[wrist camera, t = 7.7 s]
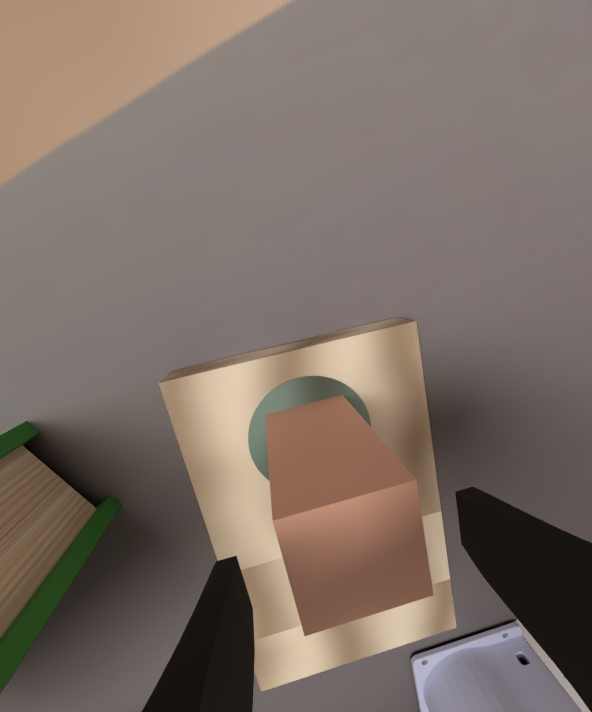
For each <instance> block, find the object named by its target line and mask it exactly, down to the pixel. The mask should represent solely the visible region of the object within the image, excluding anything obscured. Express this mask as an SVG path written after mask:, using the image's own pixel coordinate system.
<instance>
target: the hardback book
mask: <svg viewBox="0 0 592 712" xmlns="http://www.w3.org/2000/svg"><path fill="white" fill-rule="evenodd" d="M38 433H39V432H38V431H37V430H36V429H35V428H34V427H32V426H31V425H30V424H29V423H28V422H27V421H26V422H24V423H22V424H20V425H19V426H17V427H15V428H13V429H11V430H9V431H8V432H6V433H4V434H2V435H0V694H1V692H2V690H3V689H4V687H5V686H6V684H7V683H8V681H9V679H10V678H11V676H12V675H13V673H14V672H15V670H16V669H17V667H18V665H19V664H20V662H21V661H22V659H23V658H24V656H25V655H26V653H27V651H28V650H29V648H30V647H31V645H32V644H33V642H34V641H35V639H36V637H37V636H38V634H39V633H40V631H41V630H42V628H43V627H44V625H45V623H46V622H47V620H48V619H49V617H50V616H51V614H52V612H53V611H54V609H55V608H56V606H57V605H58V603H59V602H60V600H61V598H62V597H63V595H64V594H65V592H66V591H67V589H68V588H69V586H70V584H71V583H72V581H73V580H74V578H75V577H76V575H77V574H78V572H79V570H80V569H81V567H82V566H83V564H84V563H85V561H86V560H87V558H88V556H89V555H90V553H91V552H92V550H93V549H94V547H95V545H96V544H97V542H98V541H99V539H100V538H101V536H102V535H103V533H104V531H105V530H106V528H107V527H108V525H109V524H110V522H111V521H112V519H113V517H114V516H115V514H116V513H117V511H118V510H119V508H120V507H121V504H120V503H119V502H118V501H117V500H116V499H114V498H113V497H112V496H111V495H110V496H109V497H108V498H106V499H105V500H104V501H103V502H101V503H100V504H99V505H98V506H96V507H94V506H93V505H92V504H91V503H89V502H88V501H87V500H86V499H85V498H84V497H82V496H81V495H80V494H79V493H78V492H77V491H75V490H74V489H73V488H72V487H71V486H70V485H68V484H67V483H66V482H65V481H64V480H62V479H61V478H60V477H59V476H58V475H57V474H55V473H54V472H53V471H52V470H51V469H50V468H48V467H47V466H46V465H45V464H44V463H43V462H41V461H40V460H39V459H38V458H37V457H35V456H34V455H33V454H32V453H31V452H30V451H28V450H27V449H26V448H25V447H24V446H23V445H24V444H26V443H27V442H28V441H29V440H31V439H32V438H33V437H34V436H36V435H37V434H38Z"/></svg>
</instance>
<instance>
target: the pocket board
mask: <svg viewBox="0 0 592 712" xmlns="http://www.w3.org/2000/svg"><path fill="white" fill-rule="evenodd" d="M159 386H160V389H161V392H162V395H163V398H164V401H165V404H166V407H167V410H168V413H169V416H170V419H171V422H172V425H173V428H174V431H175V434H176V437H177V440H178V443H179V446H180V449H181V452H182V455H183V458H184V461H185V464H186V467H187V470H188V473H189V476H190V479H191V482H192V485H193V488H194V491H195V494H196V497H197V500H198V503H199V506H200V509H201V512H202V515H203V518H204V521H205V524H206V527H207V530H208V533H209V536H210V539H211V542H212V545H213V548H214V551H215V554H216V557H217V560H218V561H219V560H223V559H226V558H229V557H233V556H237V559H238V562H239V566H240V569H241V572H242V575H243V578H244V581H245V585H246V588H247V591H248V594H249V597H250V600H251V604H252V607H253V621H254V644H255V658H254V671H255V674H256V677H257V680H258V683H259V686H260V689H261V692H262V691H265V690H268V689H271V688H274V687H277V686H280V685H283V684H286V683H289V682H292V681H295V680H298V679H301V678H304V677H307V676H310V675H313V674H317V673H320V672H323V671H326V670H329V669H332V668H335V667H338V666H341V665H344V664H347V663H350V662H353V661H356V660H359V659H362V658H365V657H368V656H371V655H374V654H377V653H381V652H384V651H387V650H390V649H393V648H396V647H399V646H402V645H405V644H408V643H411V642H414V641H417V640H420V639H423V638H426V637H429V636H432V635H435V634H438V633H441V632H444V631H448V630H451V629H454V628H456V620H455V613H454V605H453V597H452V590H451V582H450V575H449V567H448V559H447V552H446V544H445V536H444V529H443V521H442V514H441V506H440V498H439V491H438V483H437V476H436V468H435V460H434V453H433V445H432V437H431V430H430V422H429V415H428V407H427V399H426V392H425V384H424V377H423V369H422V361H421V354H420V346H419V338H418V331H417V323H416V321H413V320H407V319H401V318H392V319H388V320H384V321H380V322H376V323H371V324H367V325H363V326H359V327H355V328H351V329H346V330H342V331H338V332H334V333H330V334H325V335H321V336H317V337H313V338H309V339H304V340H300V341H296V342H292V343H288V344H284V345H279V346H275V347H271V348H267V349H263V350H258V351H254V352H250V353H246V354H242V355H237V356H233V357H229V358H225V359H221V360H217V361H212V362H208V363H204V364H200V365H196V366H191V367H187V368H183V369H179V370H175V371H171V372H170V373H169V374H168V375H167V376H166V377H165V378H164V379H162V380H161V381H160V382H159ZM340 395H343V396H344V397H345V398H346V399H347V400H348V401H349V403H350V404H351V405H352V406H353V407H354V408H355V409H356V411H357V412H358V413H359V414H360V415H361V416H362V418H363V419H364V420H365V421H366V422H367V423H368V425H369V426H370V427H371V428H372V429H373V430H374V431H375V433H376V434H377V435H378V436H379V437H380V438H381V440H382V441H383V442H384V443H385V444H386V445H387V446H388V448H389V449H390V450H391V451H392V452H393V453H394V455H395V456H396V457H397V458H398V459H399V460H400V462H401V463H402V464H403V465H404V466H405V467H406V468H407V470H408V471H409V472H410V473H411V474H412V475H413V477H414V478H415V479H416V481H417V487H418V494H419V501H420V507H421V514H422V521H423V528H424V534H425V541H426V548H427V554H428V561H429V568H430V574H431V581H432V588H433V594H434V595H433V596H430V597H427V598H424V599H421V600H417V601H414V602H411V603H408V604H405V605H402V606H399V607H395V608H392V609H389V610H386V611H383V612H380V613H377V614H373V615H370V616H367V617H364V618H361V619H358V620H355V621H351V622H348V623H345V624H342V625H339V626H336V627H333V628H329V629H326V630H323V631H320V632H317V633H314V634H311V635H308V636H304V633H303V629H302V625H301V622H300V618H299V615H298V611H297V607H296V604H295V600H294V597H293V593H292V589H291V586H290V582H289V579H288V575H287V571H286V568H285V564H284V561H283V557H282V553H281V550H280V546H279V542H278V539H277V535H276V532H275V528H274V524H273V520H272V507H271V493H270V479H269V465H268V451H267V437H266V423H265V415H266V414H270V413H274V412H278V411H282V410H286V409H290V408H293V407H297V406H301V405H305V404H309V403H313V402H317V401H321V400H325V399H328V398H332V397H336V396H340Z"/></svg>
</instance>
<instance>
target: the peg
mask: <svg viewBox="0 0 592 712" xmlns="http://www.w3.org/2000/svg"><path fill="white" fill-rule="evenodd" d="M265 423H266V437H267V451H268V465H269V479H270V493H271V507H272V520H273V524H274V528H275V532H276V535H277V539H278V542H279V546H280V550H281V553H282V557H283V561H284V564H285V568H286V571H287V575H288V579H289V582H290V586H291V589H292V593H293V597H294V600H295V604H296V607H297V611H298V615H299V618H300V622H301V625H302V629H303V633H304V636H308V635H311V634H314V633H317V632H320V631H323V630H326V629H329V628H333V627H336V626H339V625H342V624H345V623H348V622H351V621H355V620H358V619H361V618H364V617H367V616H370V615H373V614H377V613H380V612H383V611H386V610H389V609H392V608H395V607H399V606H402V605H405V604H408V603H411V602H414V601H417V600H421V599H424V598H427V597H430V596H433V595H434V594H433V588H432V581H431V574H430V568H429V561H428V554H427V548H426V541H425V534H424V528H423V521H422V514H421V507H420V501H419V494H418V487H417V481H416V479H415V478H414V477H413V475H412V474H411V473H410V472H409V471H408V470H407V468H406V467H405V466H404V465H403V464H402V463H401V462H400V460H399V459H398V458H397V457H396V456H395V455H394V453H393V452H392V451H391V450H390V449H389V448H388V446H387V445H386V444H385V443H384V442H383V441H382V440H381V438H380V437H379V436H378V435H377V434H376V433H375V431H374V430H373V429H372V428H371V427H370V426H369V425H368V423H367V422H366V421H365V420H364V419H363V418H362V416H361V415H360V414H359V413H358V412H357V411H356V409H355V408H354V407H353V406H352V405H351V404H350V403H349V401H348V400H347V399H346V398H345V397H344V396H343V395H340V396H336V397H332V398H328V399H325V400H321V401H317V402H313V403H309V404H305V405H301V406H297V407H293V408H290V409H286V410H282V411H278V412H274V413H270V414H266V415H265Z"/></svg>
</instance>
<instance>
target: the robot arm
mask: <svg viewBox="0 0 592 712" xmlns="http://www.w3.org/2000/svg"><path fill="white" fill-rule="evenodd" d="M456 500H457V509H458V517H459V526H460V534H461V543H462V545H463V547H464V548H465V550H466V551H467V553H468V554H469V556H470V558H471V559H472V561H473V562H474V564H475V565H476V566H477V568H478V569H479V571H480V572H481V574H482V575H483V577H484V578H485V579H486V581H487V582H488V583H489V584H490V586H491V587H492V588H493V589H494V590H495V592H496V593H497V594H498V595H499V597H500V598H501V599H502V600H503V602H504V603H505V604H506V605H507V606H508V608H509V609H510V610H511V611H512V612H513V614H514V615H515V616H516V617H517V618H518V620H519V621H520V622H521V623H522V625H523V626H524V627H525V628H526V629H527V630H528V632H529V633H530V634H531V635H532V637H533V638H534V639H535V640H536V641H537V643H538V644H539V645H540V646H541V647H542V649H543V650H544V651H545V652H546V653H547V655H548V656H549V657H550V658H551V660H552V661H553V662H554V663H555V664H556V666H557V667H558V668H559V670H560V671H561V672H562V673H563V675H564V676H565V677H566V679H567V680H568V681H569V682H570V684H571V685H572V686H573V688H574V689H575V690H576V692H577V693H578V694H579V696H580V697H581V698H582V700H583V701H584V703H585V704H586V706H587V707H588V708H589V710H590V711H591V712H592V543H590V542H588V541H585V540H583V539H581V538H579V537H576V536H574V535H572V534H570V533H567V532H565V531H563V530H561V529H559V528H557V527H554V526H552V525H550V524H548V523H546V522H544V521H542V520H540V519H538V518H536V517H534V516H532V515H529V514H527V513H525V512H523V511H521V510H519V509H517V508H515V507H513V506H511V505H509V504H507V503H505V502H503V501H501V500H499V499H497V498H495V497H493V496H491V495H489V494H487V493H485V492H483V491H481V490H479V489H477V488H475V487H470V488H467V489H464V490H460V491H457V492H456ZM254 658H255V644H254V621H253V607H252V604H251V600H250V597H249V594H248V591H247V588H246V585H245V581H244V578H243V575H242V572H241V569H240V566H239V562H238V559H237V556H233V557H229V558H226V559H223V560H219V561H217V562H216V563H215V565H214V567H213V569H212V571H211V574H210V576H209V578H208V580H207V583H206V585H205V587H204V590H203V592H202V594H201V596H200V599H199V601H198V603H197V605H196V607H195V610H194V612H193V614H192V616H191V618H190V620H189V622H188V624H187V626H186V628H185V631H184V633H183V635H182V637H181V639H180V641H179V643H178V645H177V647H176V649H175V651H174V653H173V655H172V657H171V659H170V660H169V662H168V664H167V666H166V668H165V670H164V672H163V674H162V676H161V678H160V679H159V681H158V683H157V685H156V687H155V689H154V691H153V692H152V694H151V696H150V698H149V700H148V701H147V703H146V705H145V707H144V709H143V710H142V712H252V705H253V683H254ZM411 665H412V670H413V676H414V681H415V687H416V693H417V698H418V704H419V709H420V712H582V711H581V710H580V709H579V708H578V706H577V705H576V703H575V702H574V701H573V700H572V698H571V697H570V696H569V694H568V693H567V692H566V691H565V689H564V688H563V687H562V686H561V684H560V683H559V682H558V681H557V679H556V678H555V677H554V675H553V674H552V673H551V671H550V670H549V669H548V668H547V666H546V665H545V664H544V663H543V661H542V660H541V659H540V657H539V656H538V655H537V654H536V652H535V651H534V650H533V648H532V647H531V646H530V645H529V643H528V642H527V641H526V639H525V638H524V637H523V636H522V629H521V627H520V626H519V624H517V623H516V622H513V623H509V624H506V625H503V626H500V627H497V628H494V629H491V630H488V631H485V632H482V633H479V634H476V635H473V636H470V637H467V638H464V639H461V640H458V641H455V642H452V643H449V644H446V645H443V646H440V647H437V648H434V649H431V650H428V651H425V652H422V653H419V654H416V655H414V656H413V657H412V658H411Z"/></svg>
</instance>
